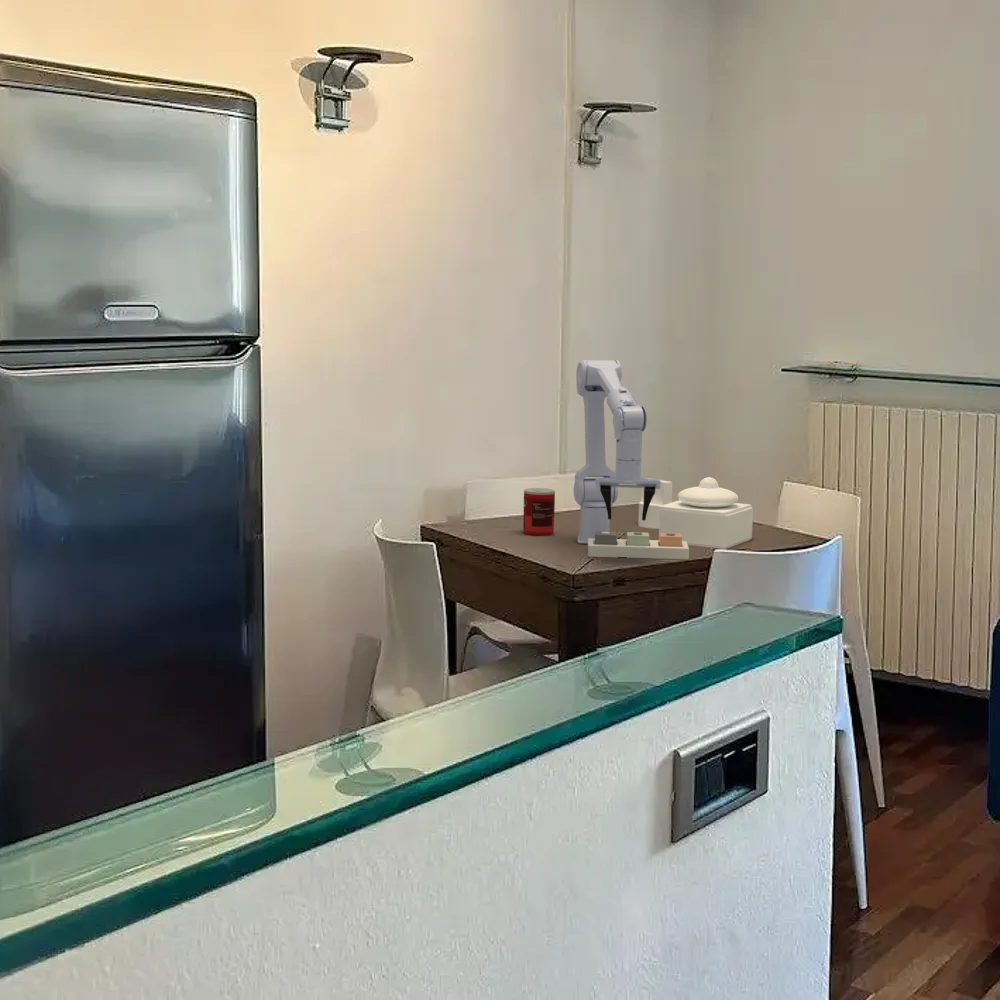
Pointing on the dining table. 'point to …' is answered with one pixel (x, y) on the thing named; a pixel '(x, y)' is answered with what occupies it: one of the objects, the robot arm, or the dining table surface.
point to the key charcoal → (605, 538)
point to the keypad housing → (638, 550)
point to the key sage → (638, 538)
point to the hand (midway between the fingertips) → (626, 519)
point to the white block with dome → (708, 516)
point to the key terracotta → (670, 539)
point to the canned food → (539, 511)
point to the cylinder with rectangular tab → (655, 505)
